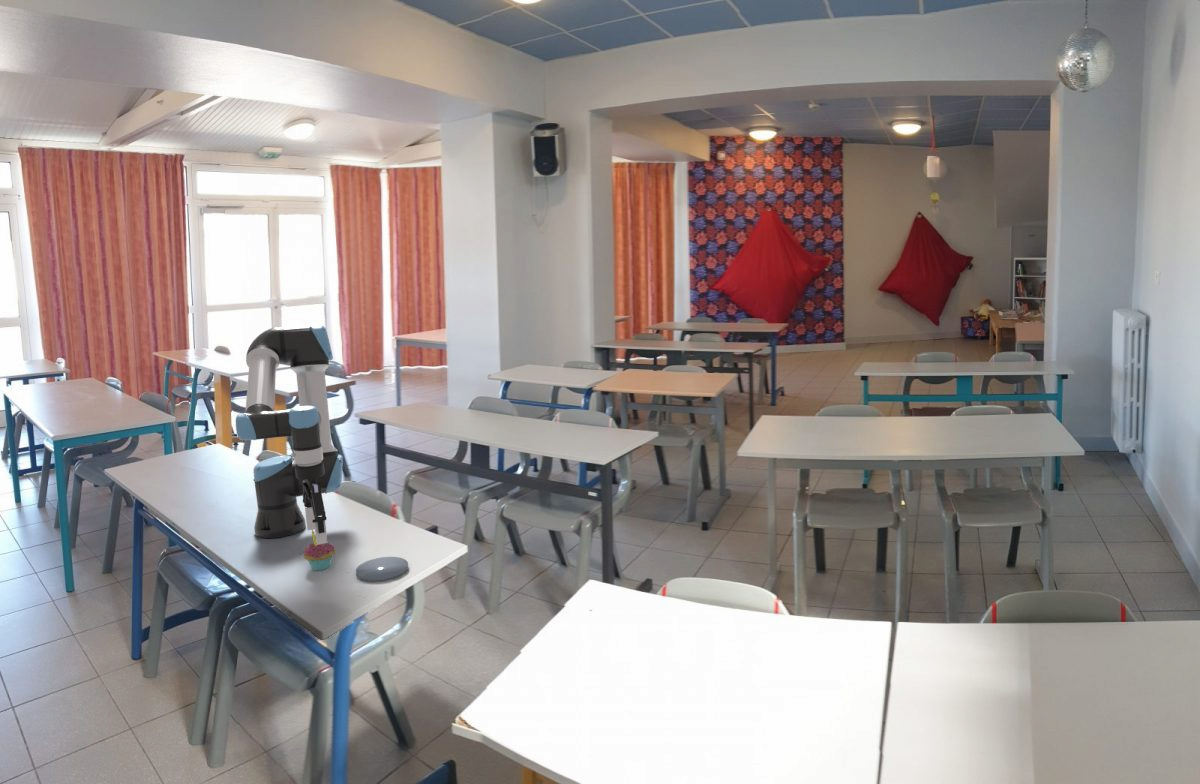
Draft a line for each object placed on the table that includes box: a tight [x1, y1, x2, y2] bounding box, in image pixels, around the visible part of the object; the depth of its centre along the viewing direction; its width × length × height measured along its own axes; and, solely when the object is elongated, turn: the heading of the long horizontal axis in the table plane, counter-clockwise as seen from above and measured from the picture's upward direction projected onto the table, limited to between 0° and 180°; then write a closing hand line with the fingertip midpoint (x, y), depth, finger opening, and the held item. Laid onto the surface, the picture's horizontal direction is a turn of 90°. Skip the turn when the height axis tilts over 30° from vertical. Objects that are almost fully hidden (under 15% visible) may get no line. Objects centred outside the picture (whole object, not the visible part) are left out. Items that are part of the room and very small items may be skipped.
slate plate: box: [355, 556, 409, 583], centre depth 221 cm, size 14×14×1 cm
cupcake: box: [302, 529, 336, 571], centre depth 224 cm, size 9×8×12 cm
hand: (317, 536), depth 223 cm, fingers open, 13 cm apart
